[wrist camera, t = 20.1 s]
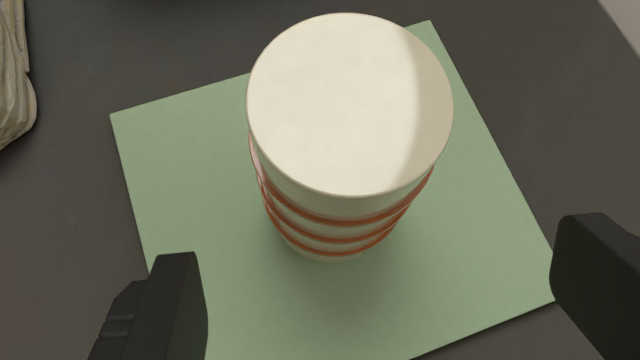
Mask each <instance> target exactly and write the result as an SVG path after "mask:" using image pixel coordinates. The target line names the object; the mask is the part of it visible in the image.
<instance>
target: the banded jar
mask: <svg viewBox="0 0 640 360" xmlns="http://www.w3.org/2000/svg"><path fill="white" fill-rule="evenodd" d="M245 111H246V119H247V123H248V127H249V137H248V141H249V150H250V155H251V158H252V162H253V166H254V168H255V170H256V175H257V181H258V184H259V188H260V191H261V193H262V199H263V203H264V207H265V210H266V212H267V214H268V217H269V219H270V220H271V222H272V224H273V225H274V228H275V230H276V231H277V233H278V235H279V236H280V237H281V239H282V240H283V241H284V242H285V243H286V244H287V245H288V246H289V247H290V248H291V249H292V250H294V251H295V252H296V253H298V254H300V255H302V256H304V257H306V258H308V259H311V260H314V261H318V262H324V263H340V262H346V261H350V260H353V259H356V258H358V257H360V256H362V255H364V254H366V253H367V252H369V251H370V250H371V249H373V248H374V247H375V246H376V245H377V244H378V243H380V242H381V241H382V240H383V239H384V238H386V237H387V235H388V234H389V233H390V232H391V231H392V230H393V228H394V227H395V226H396V224H397V223H398V221H399V219H400V218H401V217H402V216H403V215H404V214H405V212H406V211H407V209H408V208H409V206H410V205H411V203H412V201H413V200H414V199H415V198H416V197H417V196H418V195H419V193H420V192H421V190H422V189H423V188H424V186H425V185H426V183H427V182H428V180H429V178H430V176H431V173H432V171H433V168H434V165H435V162H436V161H437V159H438V158H439V157H440V155H441V154H442V152H443V150H444V148H445V146H446V144H447V142H448V140H449V137H450V133H451V130H452V125H453V119H454V101H453V94H452V90H451V86H450V82H449V79H448V77H447V75H446V73H445V70H444V68H443V67H442V65H441V63H440V62H439V60H438V58H437V57H436V56H435V55H434V53H433V52H432V51H431V50H430V49H429V48H428V47H427V46H426V45H425V44H424V43H423V42H422V41H421V40H420V39H419V38H417V37H416V36H415V35H414V34H412V33H411V32H409V31H408V30H406V29H404V28H403V27H401V26H399V25H397V24H395V23H393V22H390V21H388V20H385V19H382V18H379V17H375V16H371V15H366V14H359V13H332V14H325V15H321V16H316V17H313V18H310V19H307V20H304V21H302V22H300V23H297V24H295V25H293V26H291V27H290V28H288V29H287V30H285V31H284V32H282V33H281V34H280V35H278V36H277V37H276V38H275V39H274V40H272V41H271V42H270V44H269V45H268V46H267V47H266V48H265V49H264V50H263V52H262V53H261V55H260V56H259V57H258V59H257V60H256V62H255V64H254V66H253V68H252V70H251V73H250V76H249V79H248V82H247V87H246V93H245Z"/></svg>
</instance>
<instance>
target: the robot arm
mask: <svg viewBox="0 0 640 360" xmlns="http://www.w3.org/2000/svg"><path fill="white" fill-rule="evenodd" d="M549 284H550V288H551V292H552V294H553V296H554V298H555V300H556V301H557V303H558V304H559V305H560V306H561V308H562V309H563V310H564V311H565V312H566V314H567V315H568V316H569V317H570V318H571V320H572V321H573V322H574V323H575V324H576V326H577V327H578V328H579V329H580V330H581V331H582V333H583V334H584V335H585V336H586V337H587V339H588V340H589V341H590V342H591V343H592V345H593V346H594V347H595V348H596V349H597V351H598V352H599V353H600V354H601V355H602V357H603V358H604V359H605V360H640V237H637V236H635V235H633V234H631V233H629V232H627V231H626V230H624V229H623V228H622V227H621V226H619V225H618V224H617V223H615V222H614V221H613V220H611V219H610V218H609V217H608V216H606V215H605V214H603V213H589V214H579V215H568V216H564V217H563V218H562V219H561V220H560V222H559V224H558V229H557V234H556V239H555V244H554V250H553V255H552V260H551V266H550V271H549ZM207 341H208V313H207V306H206V301H205V296H204V291H203V286H202V280H201V275H200V270H199V265H198V260H197V256H196V254H195V252H194V251H190V252H179V253H169V254H159V255H157V256H156V258H155V261H154V264H153V266H152V269H151V272H150V274H149V277H148V280H140V281H132V282H131V283H130V284H129V285H128V286H127V287H126V288H125V289H124V290H123V291H122V292H121V293H120V294H119V295H118V296H117V297H116V298H115V299H114V301H113V303H112V306H111V308H110V310H109V312H108V314H107V317H106V322H104V323H103V326H102V328H101V330H100V332H99V338H98V339H96V341H95V344H94V346H93V348H92V350H91V353H90V355H89V357H88V359H87V360H205V354H206V347H207Z"/></svg>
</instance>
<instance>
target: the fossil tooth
mask: <svg viewBox="0 0 640 360" xmlns="http://www.w3.org/2000/svg"><path fill="white" fill-rule="evenodd" d="M24 22H25V16H24V3H23V0H0V150H1V149H3V148H4V147H5V146H6V145H7V144H9V143H10V142H12V141H13V140H15V139H16V138H18V137H19V136H21V135H22V134H24V133H25V132H27V131H28V130H29V129H31V127H32V125H33V124H34V122H35V120H36V117H37V104H36V96H35V92H34V90H33V87H32V85H31V82H30V79H29V78H28V76H27V75H26V73H28V72H29V60H28V50H27V42H26V34H25V27H24Z"/></svg>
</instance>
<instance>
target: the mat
mask: <svg viewBox="0 0 640 360" xmlns="http://www.w3.org/2000/svg"><path fill="white" fill-rule="evenodd" d="M404 29H406V30H408V31H409V32H411V33H412V34H414V35H415V36H416V37H417V38H419V39H420V40H421V41H422V42H423V43H424V44H425V45H426V46H427V47H428V48H429V49H430V50H431V51H432V52H433V53H434V55H435V56H436V57H437V58H438V60H439V62H440V63H441V65H442V67H443V68H444V70H445V73H446V75H447V77H448V79H449V82H450V86H451V90H452V94H453V101H454V119H453V125H452V130H451V133H450V137H449V140H448V142H447V144H446V146H445V148H444V150H443V152H442V154H441V155H440V157H439V158H438V159H437V161H436V162H435V165H434V168H433V171H432V173H431V176H430V178H429V180H428V182H427V183H426V185H425V186H424V188H423V189H422V190H421V192H420V193H419V195H418V196H417V197H416V198H415V199H414V200H413V201H412V203H411V205H410V206H409V208H408V209H407V211H406V212H405V214H404V215H403V216H402V217H401V218H400V219H399V221H398V223H397V224H396V226H395V227H394V228H393V230H392V231H391V232H390V233H389V234H388V235H387V237H386V238H384V239H383V240H382V241H381V242H380V243H378V244H377V245H376V246H375V247H374V248H373V249H371V250H370V251H369V252H367V253H366V254H364V255H362V256H360V257H358V258H356V259H353V260H350V261H346V262H340V263H324V262H318V261H314V260H311V259H308V258H306V257H304V256H302V255H300V254H298V253H296V252H295V251H294V250H292V249H291V248H290V247H289V246H288V245H287V244H286V243H285V242H284V241H283V240H282V239H281V237H280V236H279V235H278V233H277V231H276V230H275V228H274V225H273V224H272V222H271V220H270V219H269V217H268V214H267V212H266V210H265V207H264V203H263V199H262V193H261V191H260V188H259V184H258V181H257V175H256V170H255V168H254V166H253V162H252V158H251V155H250V150H249V141H248V137H249V127H248V123H247V119H246V111H245V93H246V87H247V82H248V79H249V76H250V73H248V74H244V75H241V76H238V77H234V78H231V79H227V80H224V81H221V82H217V83H214V84H210V85H207V86H204V87H200V88H197V89H193V90H190V91H187V92H183V93H180V94H176V95H173V96H170V97H166V98H163V99H159V100H156V101H153V102H149V103H146V104H142V105H139V106H136V107H132V108H129V109H125V110H122V111H119V112H115V113H112V114H110V119H111V124H112V128H113V132H114V136H115V140H116V144H117V148H118V152H119V156H120V160H121V164H122V168H123V172H124V176H125V180H126V184H127V188H128V192H129V196H130V200H131V204H132V208H133V212H134V216H135V220H136V224H137V228H138V232H139V236H140V240H141V244H142V248H143V252H144V256H145V260H146V264H147V268H148V272H149V274H150V272H151V269H152V266H153V264H154V261H155V258H156V256H157V255H159V254H169V253H179V252H190V251H194V252H195V254H196V256H197V260H198V265H199V270H200V275H201V280H202V286H203V291H204V296H205V301H206V306H207V313H208V341H207V347H206V354H205V360H410V359H413V358H415V357H418V356H420V355H423V354H425V353H428V352H430V351H432V350H435V349H437V348H440V347H442V346H445V345H447V344H450V343H452V342H455V341H457V340H460V339H462V338H465V337H467V336H469V335H472V334H474V333H477V332H479V331H482V330H484V329H487V328H489V327H492V326H494V325H497V324H499V323H502V322H504V321H506V320H509V319H511V318H514V317H516V316H519V315H521V314H524V313H526V312H529V311H531V310H534V309H536V308H539V307H541V306H543V305H546V304H548V303H551V302H553V301H556V300H555V298H554V296H553V294H552V292H551V288H550V284H549V271H550V266H551V260H552V255H553V252H552V250H551V248H550V246H549V245H548V243H547V241H546V239H545V237H544V235H543V233H542V231H541V229H540V227H539V226H538V224H537V222H536V220H535V218H534V216H533V214H532V212H531V210H530V209H529V207H528V205H527V203H526V201H525V199H524V197H523V195H522V193H521V191H520V190H519V188H518V186H517V184H516V182H515V180H514V178H513V176H512V174H511V173H510V171H509V169H508V167H507V165H506V163H505V161H504V159H503V157H502V156H501V154H500V152H499V150H498V148H497V146H496V144H495V142H494V140H493V138H492V137H491V135H490V133H489V131H488V129H487V127H486V125H485V123H484V121H483V120H482V118H481V116H480V114H479V112H478V110H477V108H476V106H475V104H474V102H473V101H472V99H471V97H470V95H469V93H468V91H467V89H466V87H465V85H464V84H463V82H462V80H461V78H460V76H459V74H458V72H457V70H456V68H455V67H454V65H453V63H452V61H451V59H450V57H449V55H448V53H447V51H446V49H445V48H444V46H443V44H442V42H441V40H440V38H439V36H438V34H437V32H436V31H435V29H434V27H433V25H432V23H431V21H430V20H428V21H425V22H421V23H418V24H414V25H411V26H408V27H404Z"/></svg>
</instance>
